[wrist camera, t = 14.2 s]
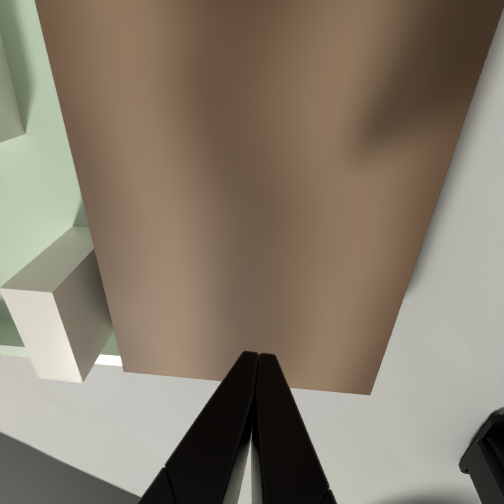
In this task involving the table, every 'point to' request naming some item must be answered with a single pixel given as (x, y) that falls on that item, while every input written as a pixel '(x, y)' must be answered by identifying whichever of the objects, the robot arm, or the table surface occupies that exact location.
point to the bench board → (262, 169)
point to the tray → (34, 167)
